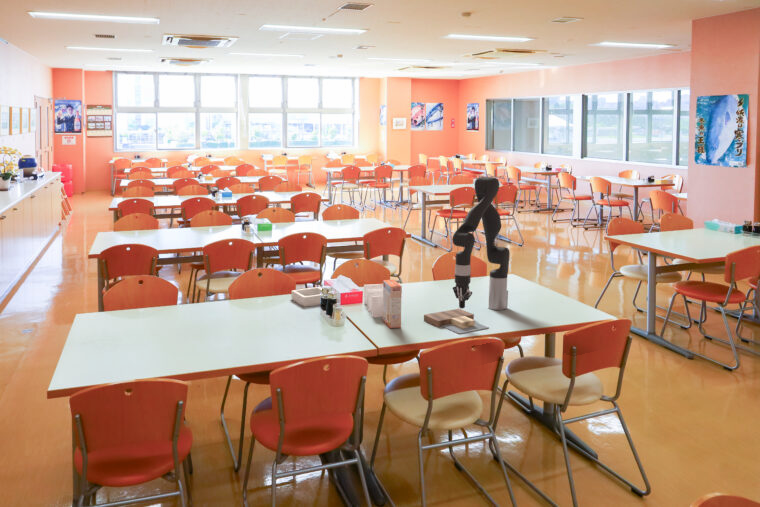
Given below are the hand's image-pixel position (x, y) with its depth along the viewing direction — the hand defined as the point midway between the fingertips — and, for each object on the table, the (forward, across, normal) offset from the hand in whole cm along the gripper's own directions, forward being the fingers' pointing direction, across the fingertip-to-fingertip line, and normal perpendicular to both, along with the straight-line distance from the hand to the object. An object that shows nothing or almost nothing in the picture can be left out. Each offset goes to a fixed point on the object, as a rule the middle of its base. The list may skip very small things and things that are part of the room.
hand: (461, 307), depth 312 cm
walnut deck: (+9, +10, 0) cm, 13 cm away
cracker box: (+9, +19, +28) cm, 35 cm away
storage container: (+9, +43, +22) cm, 49 cm away
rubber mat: (+9, -3, 0) cm, 9 cm away
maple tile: (+8, -1, 0) cm, 9 cm away
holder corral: (+9, +77, +44) cm, 89 cm away
